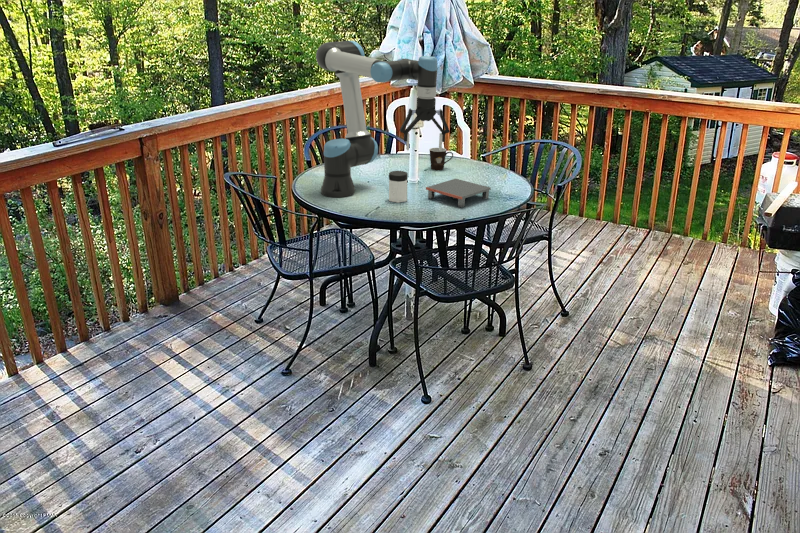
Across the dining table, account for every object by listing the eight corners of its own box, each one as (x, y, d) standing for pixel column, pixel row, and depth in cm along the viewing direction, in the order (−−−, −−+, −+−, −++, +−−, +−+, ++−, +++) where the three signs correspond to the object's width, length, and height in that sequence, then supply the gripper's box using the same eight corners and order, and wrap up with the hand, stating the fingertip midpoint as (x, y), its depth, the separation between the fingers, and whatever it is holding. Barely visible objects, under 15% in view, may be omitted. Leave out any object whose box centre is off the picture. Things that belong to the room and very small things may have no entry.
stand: (425, 198, 292) (425, 187, 290) (455, 189, 305) (455, 178, 303) (460, 208, 279) (461, 197, 277) (490, 198, 293) (490, 187, 291)
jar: (384, 200, 288) (384, 173, 283) (393, 195, 294) (393, 169, 290) (402, 203, 284) (402, 176, 279) (411, 199, 290) (411, 172, 286)
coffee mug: (427, 170, 335) (427, 150, 331) (431, 166, 343) (431, 147, 339) (449, 172, 332) (450, 152, 328) (453, 168, 340) (453, 148, 336)
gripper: (396, 98, 258) (394, 151, 266) (458, 99, 261) (455, 151, 269) (394, 95, 265) (392, 147, 273) (455, 95, 267) (452, 147, 276)
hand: (423, 149), depth 271 cm, fingers open, 13 cm apart
